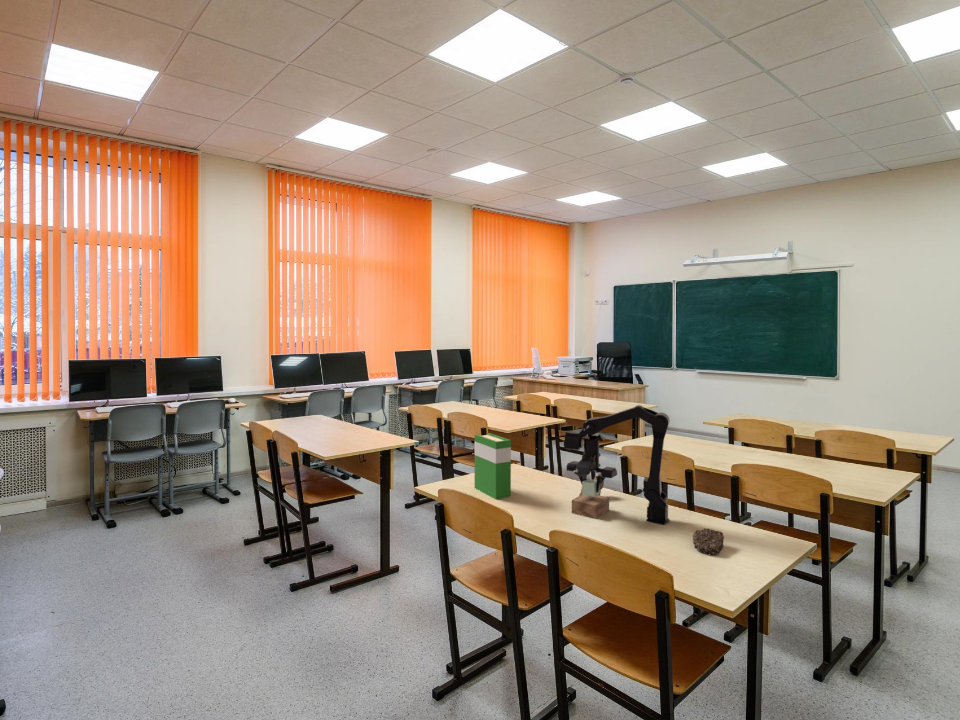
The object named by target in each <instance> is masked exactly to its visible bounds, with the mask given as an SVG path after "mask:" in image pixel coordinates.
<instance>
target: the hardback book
mask: <svg viewBox="0 0 960 720" xmlns="http://www.w3.org/2000/svg"><path fill="white" fill-rule="evenodd" d="M511 473H512V440H511V439H508V438H506V437H502V436H499V435H496V434H493V433H490V432H487V434H485V435H480V434H474V489H475V488H476V491H477V490H478V491H479V490H480V491H479V492H481V493H482V494H485V495H486V496H489V497H490V498H492V499H494V500H500V499H505V498H504V497H506V498H510V497H509V496H511V495H512V492H511V491H512V490H511V489H512V488H511V487H512V485H511V484H512V483H511V481H512V480H511V479H512V474H511ZM499 498H500V499H499Z"/></svg>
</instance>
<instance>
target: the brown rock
mask: <svg viewBox="0 0 960 720" xmlns="http://www.w3.org/2000/svg"><path fill="white" fill-rule="evenodd" d="M724 539H725V536H724V534H723V532H722V531H719V530H714V529H712V528H711V529H710V528H707V527H706V528H703V529H695V531H693V535H692V543H693V546H694V549H697V551H698V552H699V553H701V554H705V555H709V554H710V555H709V556H718V555H719V554H720V552H721V551H722V550H723V549H724Z"/></svg>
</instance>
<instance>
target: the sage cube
mask: <svg viewBox="0 0 960 720" xmlns="http://www.w3.org/2000/svg"><path fill="white" fill-rule="evenodd" d="M596 484H597V480H594V479H591V478H587V479H586V480H584V481H582V484H581V489H582V494H583V495H587V496H592V497H595V496H597V495H598V494H600V495H601V493H600V490H599V492H598V493H596Z"/></svg>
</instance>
